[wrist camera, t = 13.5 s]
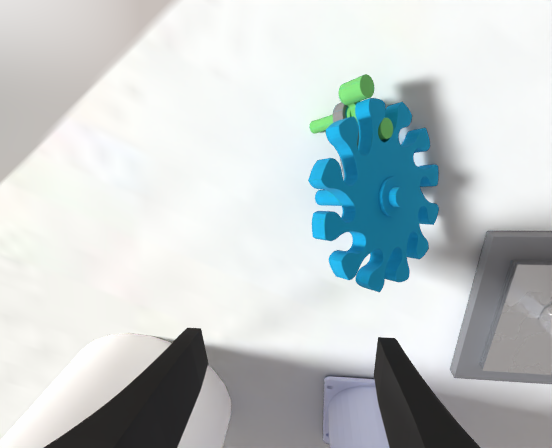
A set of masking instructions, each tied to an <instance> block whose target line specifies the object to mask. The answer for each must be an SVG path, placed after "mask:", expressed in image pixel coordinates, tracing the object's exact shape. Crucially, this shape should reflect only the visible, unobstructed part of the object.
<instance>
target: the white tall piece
mask: <svg viewBox="0 0 552 448" xmlns="http://www.w3.org/2000/svg"><path fill="white" fill-rule="evenodd" d="M171 344H172V343H171V342H168V341H165V340H162V339H159V338H156V337H153V336H147V335H140V334H133V333H125V334H113V335H107V336H104V337H102V338H99V339H96V340H93V341H92V342H91V343H89V344H88V345H87V346H86V347H85V348H83V349H82V350H81V351H80V352H79V353H78V354H77V356H76V357H75V358H74V359H73V360H72V361H71V362H70V363H69V364H68V366H67V367H66V368H65V369H64V370H63V371H62V372H61V373H60V374H59V376H58V377H57V378H56V379H55V380H54V381H53V382H52V383H51V384H50V386H49V387H48V388H47V389H46V390H45V391H44V392H43V393H42V394H41V396H40V397H39V398H38V399H37V400H36V401H35V402H34V403H33V404H32V406H31V407H30V408H29V409H28V410H27V411H26V412H25V413H24V414H23V416H22V417H21V418H20V419H19V420H18V421H17V422H16V423H15V424H14V426H13V427H12V428H11V429H10V430H9V431H8V432H7V433H6V435H5V436H4V437H3V438H2V439H1V440H0V448H44V447H45V446H47V445H48V444H50V443H51V442H53V441H54V440H56V439H58V438H59V437H61V436H62V435H64V434H65V433H66V432H68V431H69V430H71V429H72V428H73V427H75V426H76V425H78V424H79V423H81V422H82V421H83V420H85V419H86V418H88V417H89V416H90V415H92V414H93V413H94V412H96V411H97V410H98V409H100V408H101V407H102V406H104V405H105V404H106V403H107V402H109V401H110V400H111V399H112V398H114V397H115V396H116V395H117V394H118V393H120V392H121V391H122V390H123V389H124V388H125V387H126V386H128V385H129V384H130V383H131V382H132V381H133V380H134V379H135V378H136V377H138V376H139V375H140V374H141V373H142V372H143V371H144V370H145V369H146V368H147V367H148V366H149V365H150V364H151V363H152V362H153V361H154V360H156V359H157V358H158V357H159V356H160V355H161V354H162V353H163V352H164V351H165V350H166V349H167V348H168V347H169V346H170V345H171ZM230 417H231V399H230V396H229V394H228V391H227V388H226V386H225V384H224V383H223V381H222V380H221V379H220V378H219V376H218V375H217V374H216V372H215V371H214V370H213V369H212V368H211V367H210V366H209V365H208V366H207V370H206V374H205V377H204V381H203V384H202V388H201V390H200V393H199V396H198V398H197V401H196V403H195V406H194V408H193V411H192V413H191V415H190V418H189V420H188V423H187V425H186V428H185V430H184V433H183V435H182V437H181V440H180V442H179V445H178V447H177V448H223V444H224V440H225V436H226V432H227V429H228V425H229V421H230Z"/></svg>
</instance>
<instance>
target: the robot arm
mask: <svg viewBox="0 0 552 448" xmlns="http://www.w3.org/2000/svg"><path fill="white" fill-rule="evenodd" d="M207 366H208V360H207V356H206V351H205V346H204V341H203V336H202V331H201V329H200V328H187V329H186V330H185V331H184V332H183V333H181V334H180V335H179V336H178V338H177V339H176V340H175V341H174V342H173V343H172V344H171V345H170V346H169V347H168V348H167V349H166V350H165V351H164V352H163V353H162V354H161V355H160V356H159V357H158V358H157V359H156V360H154V361H153V362H152V363H151V364H150V365H149V366H148V367H147V368H146V369H145V370H144V371H143V372H142V373H141V374H140V375H139V376H138V377H136V378H135V379H134V380H133V381H132V382H131V383H130V384H129V385H128V386H126V387H125V388H124V389H123V390H122V391H121V392H120V393H118V394H117V395H116V396H115V397H114V398H112V399H111V400H110V401H109V402H107V403H106V404H105V405H104V406H102V407H101V408H100V409H98V410H97V411H96V412H94V413H93V414H92V415H90V416H89V417H88V418H86V419H85V420H83V421H82V422H81V423H79V424H78V425H76V426H75V427H73V428H72V429H71V430H69V431H68V432H66V433H65V434H64V435H62V436H61V437H59V438H58V439H56V440H54V441H53V442H51V443H50V444H48V445H47V446H45V447H44V448H177V447H178V445H179V442H180V440H181V437H182V435H183V433H184V430H185V428H186V425H187V423H188V420H189V418H190V415H191V413H192V411H193V408H194V406H195V403H196V401H197V398H198V396H199V393H200V390H201V388H202V384H203V381H204V377H205V374H206V370H207ZM323 441H324V442H325V443H326V444H330V448H480V447H479V446H478V445H477V443H476V442H475V441H474V440H473V439H472V438H471V437H470V436H469V435H468V434H467V433H466V431H465V430H464V429H463V428H462V427H461V426H460V425H459V423H458V422H457V421H456V420H455V419H454V418H453V416H452V415H451V414H450V413H449V412H448V410H447V409H446V408H445V407H444V405H443V404H442V403H441V402H440V400H439V399H438V398H437V397H436V395H435V394H434V393H433V391H432V390H431V389H430V387H429V386H428V385H427V384H426V382H425V381H424V380H423V378H422V377H421V375H420V374H419V373H418V371H417V370H416V368H415V367H414V366H413V364H412V363H411V361H410V360H409V358H408V357H407V355H406V354H405V352H404V351H403V349H402V348H401V346H400V344H399V343H398V341H397V340H396V339H395V338H381V337H378V343H377V352H376V360H375V369H374V379H363V378H348V377H334V376H328V377H326V378H325V379H324V416H323Z"/></svg>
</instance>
